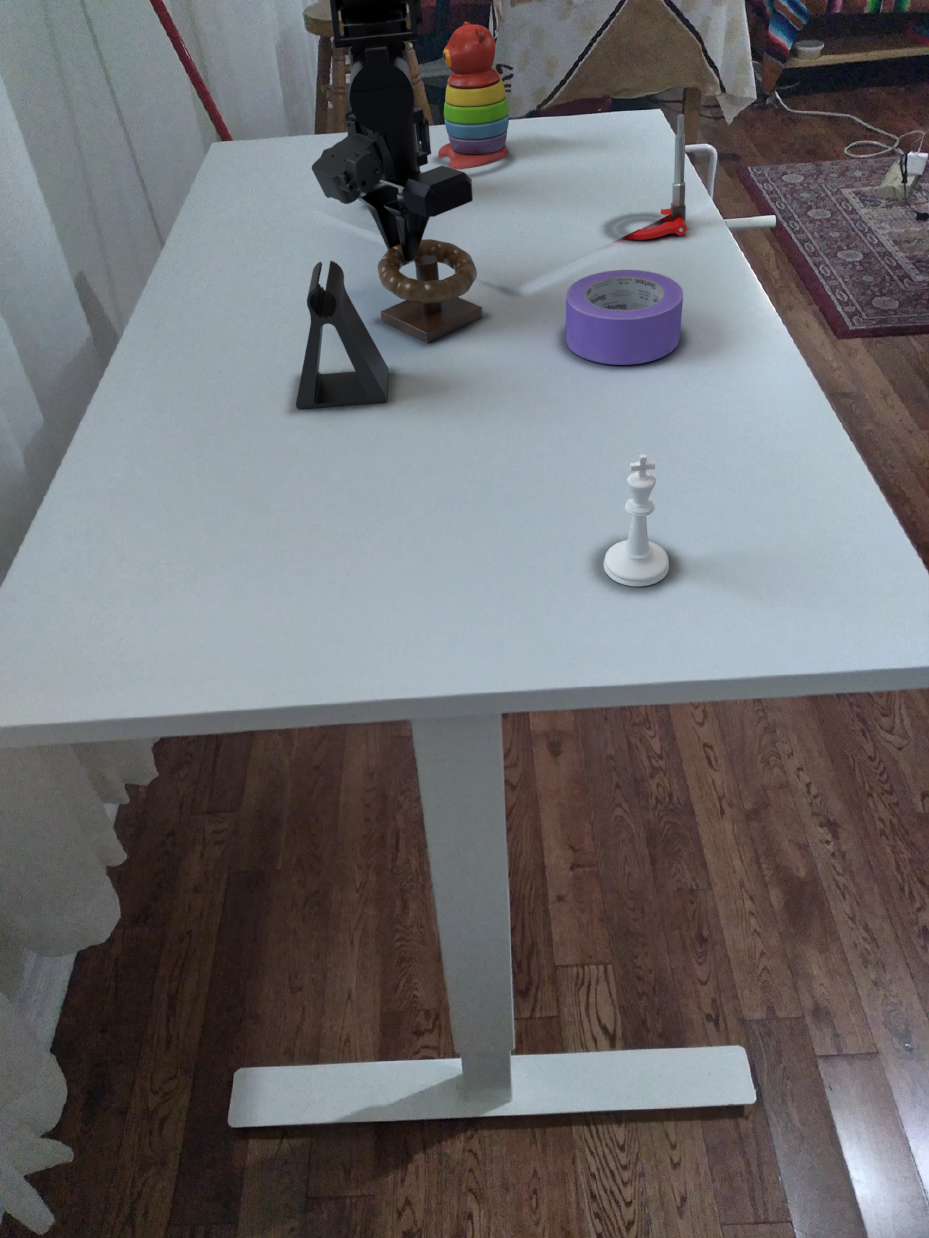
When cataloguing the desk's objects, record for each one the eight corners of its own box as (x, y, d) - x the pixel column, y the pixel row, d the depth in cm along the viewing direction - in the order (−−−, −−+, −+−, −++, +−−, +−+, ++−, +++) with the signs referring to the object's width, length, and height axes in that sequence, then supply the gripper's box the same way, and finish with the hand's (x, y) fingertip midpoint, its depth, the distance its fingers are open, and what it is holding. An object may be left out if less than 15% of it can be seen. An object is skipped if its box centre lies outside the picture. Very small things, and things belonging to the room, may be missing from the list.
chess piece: (598, 549, 76) (601, 440, 69) (660, 542, 76) (669, 433, 69) (610, 590, 72) (615, 480, 65) (675, 583, 72) (687, 472, 66)
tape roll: (581, 308, 106) (582, 264, 103) (688, 318, 103) (693, 272, 100) (552, 360, 98) (552, 313, 95) (667, 372, 95) (671, 324, 92)
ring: (359, 275, 104) (358, 256, 103) (432, 244, 109) (432, 226, 107) (421, 318, 100) (421, 299, 98) (495, 284, 104) (496, 265, 103)
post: (381, 321, 108) (373, 262, 103) (435, 296, 111) (430, 238, 107) (427, 343, 103) (421, 283, 98) (482, 317, 107) (479, 257, 102)
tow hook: (611, 246, 119) (688, 239, 118) (609, 134, 110) (692, 125, 109) (607, 220, 125) (680, 213, 124) (605, 112, 117) (683, 104, 115)
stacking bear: (435, 156, 147) (424, 21, 135) (499, 146, 148) (494, 12, 136) (452, 178, 139) (441, 38, 127) (519, 168, 141) (515, 28, 129)
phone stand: (389, 372, 99) (373, 257, 91) (387, 402, 95) (370, 284, 87) (302, 378, 99) (278, 264, 91) (296, 409, 95) (270, 292, 87)
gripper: (263, 106, 97) (293, 259, 107) (378, 142, 86) (399, 308, 97) (352, 79, 102) (372, 228, 112) (471, 109, 91) (480, 271, 102)
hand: (402, 257), depth 106 cm, fingers closed on ring, 2 cm apart
